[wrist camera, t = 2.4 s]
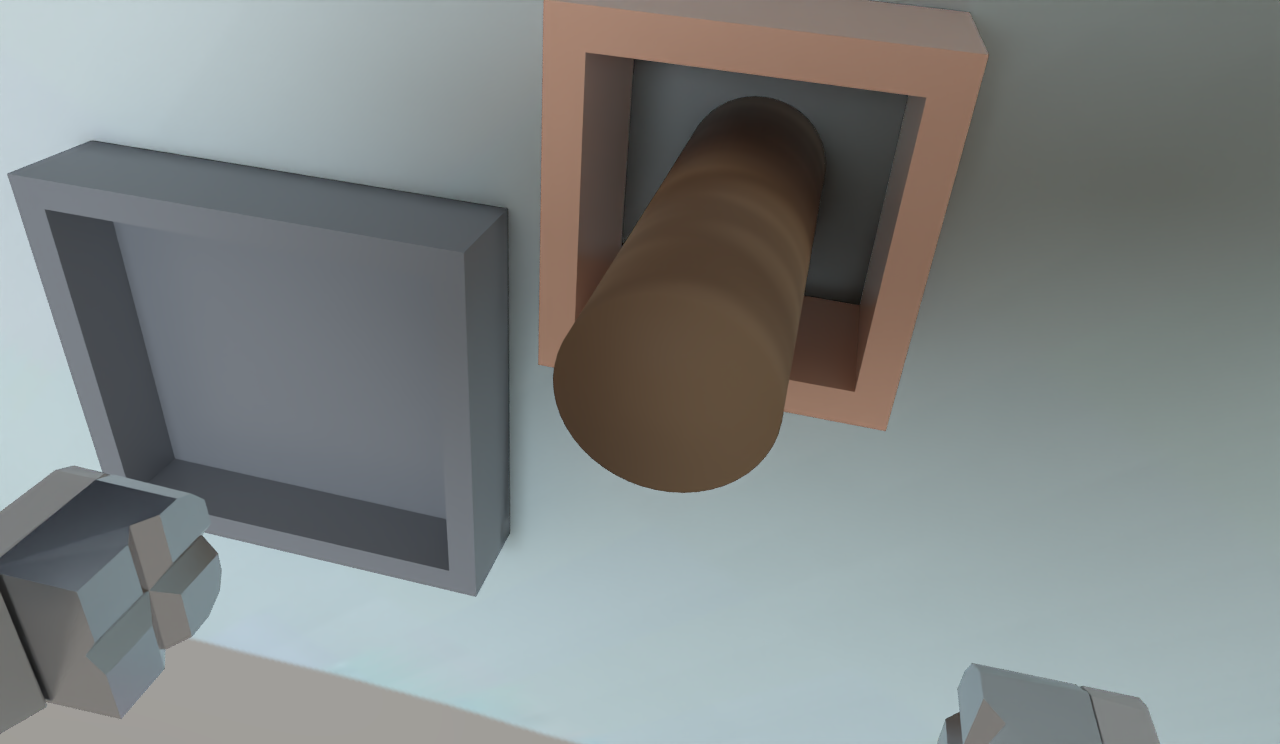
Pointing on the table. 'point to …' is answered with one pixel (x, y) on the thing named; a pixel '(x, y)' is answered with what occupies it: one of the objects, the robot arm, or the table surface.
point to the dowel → (700, 308)
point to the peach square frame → (775, 47)
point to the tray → (287, 351)
